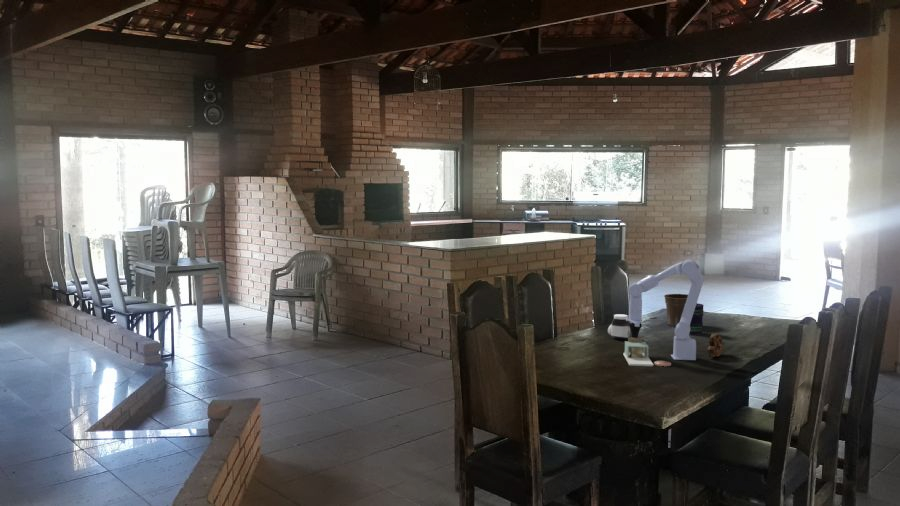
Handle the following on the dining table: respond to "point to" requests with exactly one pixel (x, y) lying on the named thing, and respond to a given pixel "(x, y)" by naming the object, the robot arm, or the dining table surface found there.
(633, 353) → the block
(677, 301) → the plant pot
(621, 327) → the spread jar
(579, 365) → the dining table surface
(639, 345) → the pale green open box
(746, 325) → the dining table surface
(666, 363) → the coaster
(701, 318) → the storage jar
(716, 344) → the wooden carving
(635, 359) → the board
